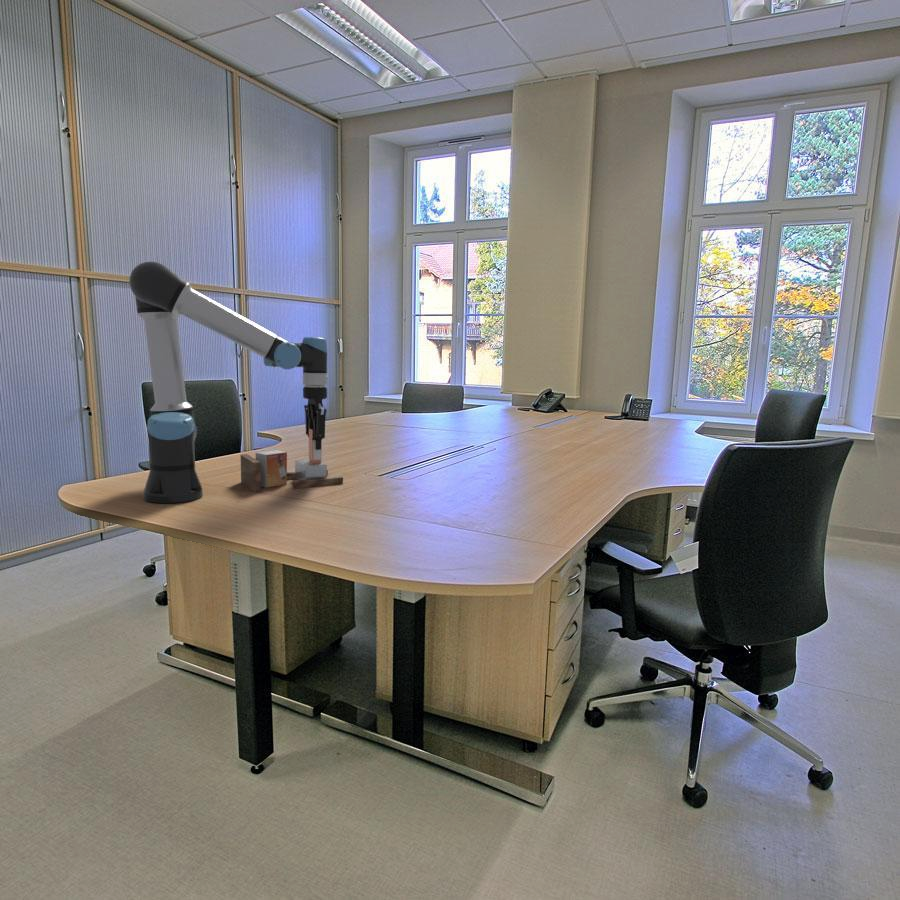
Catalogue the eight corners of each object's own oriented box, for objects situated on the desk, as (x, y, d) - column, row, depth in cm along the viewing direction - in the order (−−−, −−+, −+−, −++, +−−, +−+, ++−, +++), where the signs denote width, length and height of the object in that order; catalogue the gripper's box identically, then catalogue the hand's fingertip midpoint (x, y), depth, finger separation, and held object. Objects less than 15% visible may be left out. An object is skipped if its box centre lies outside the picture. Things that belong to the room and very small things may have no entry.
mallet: (305, 484, 190) (305, 431, 187) (295, 478, 198) (294, 427, 196) (326, 482, 194) (326, 430, 191) (315, 476, 202) (315, 426, 200)
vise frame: (254, 492, 179) (253, 462, 178) (241, 482, 191) (240, 454, 190) (343, 483, 195) (343, 456, 193) (325, 474, 207) (326, 449, 205)
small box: (266, 488, 185) (265, 454, 183) (255, 485, 188) (254, 452, 186) (287, 484, 191) (287, 451, 189) (276, 481, 194) (276, 449, 192)
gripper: (336, 388, 187) (335, 461, 191) (317, 384, 201) (317, 453, 205) (313, 388, 183) (313, 463, 187) (295, 384, 197) (295, 455, 200)
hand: (315, 458), depth 196 cm, fingers closed on mallet, 3 cm apart
